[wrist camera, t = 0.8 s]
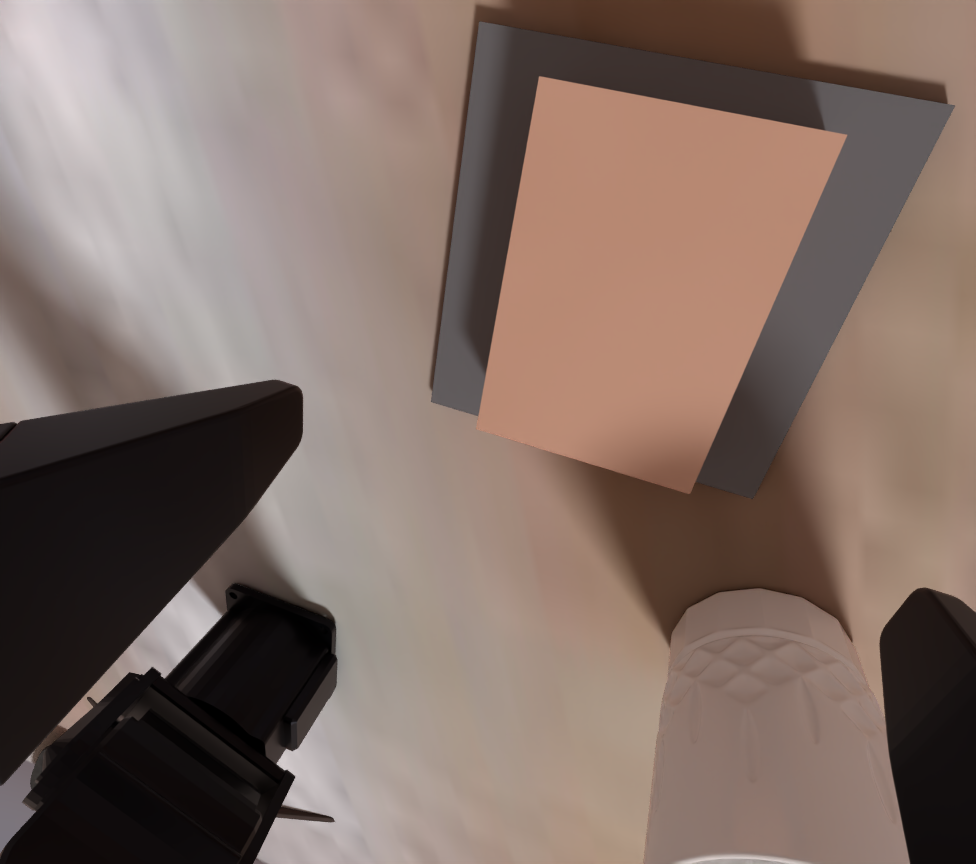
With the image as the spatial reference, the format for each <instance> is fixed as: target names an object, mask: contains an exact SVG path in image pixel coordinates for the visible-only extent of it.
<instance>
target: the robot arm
mask: <svg viewBox="0 0 976 864" xmlns="http://www.w3.org/2000/svg"><path fill="white" fill-rule="evenodd" d="M302 434H303V394H302V391H301V389H300V388H299V387H298V386H295V385H292V384H289V383H286V382H283V381H280V380H269V381H262V382H256V383H250V384H244V385H238V386H232V387H226V388H219V389H213V390H207V391H201V392H195V393H189V394H183V395H176V396H170V397H164V398H158V399H152V400H146V401H140V402H134V403H127V404H121V405H115V406H109V407H103V408H97V409H91V410H84V411H78V412H72V413H66V414H60V415H54V416H48V417H41V418H35V419H29V420H23V421H20V422H19V423H18V424H17V423H15V422H10V423H4V424H0V786H1V785H3V784H4V783H5V782H6V781H7V780H8V779H9V778H10V777H11V775H12V774H13V773H14V772H15V771H16V770H17V769H18V767H20V766H21V764H22V763H23V762H24V761H25V760H26V759H27V758H28V757H29V756H30V755H31V753H32V752H33V751H34V750H35V749H36V748H37V747H38V746H39V745H40V744H41V743H42V741H43V740H44V739H45V738H46V737H47V736H48V735H49V734H50V733H51V732H52V730H53V729H54V728H55V727H56V726H57V725H58V724H59V723H60V722H61V721H62V719H63V718H64V717H65V716H66V715H67V714H68V713H69V712H70V711H71V710H72V708H73V707H74V706H75V705H76V704H77V703H78V702H79V701H80V700H81V699H82V697H83V696H84V695H85V694H86V693H87V692H88V691H89V690H90V689H91V688H92V686H93V685H94V684H95V683H96V682H97V681H98V680H99V679H100V678H101V677H102V675H103V674H104V673H105V672H106V671H107V670H108V669H109V668H110V667H111V666H112V665H113V663H114V662H115V661H116V660H117V659H118V658H119V657H120V656H121V655H122V654H123V652H124V651H125V650H126V649H127V648H128V647H129V646H130V645H131V644H132V643H133V641H134V640H135V639H136V638H137V637H138V636H139V635H140V634H141V633H142V632H143V630H144V629H145V628H146V627H147V626H148V625H149V624H150V623H151V622H152V621H153V619H154V618H155V617H156V616H157V615H158V614H159V613H160V612H161V611H162V610H163V608H164V607H165V606H166V605H167V604H168V603H169V602H170V601H171V600H172V599H173V597H174V596H175V595H176V594H177V593H178V592H179V591H180V590H181V589H182V588H183V587H184V585H185V584H186V583H187V582H188V581H189V580H190V579H191V578H192V577H193V576H194V574H195V573H196V572H197V571H198V570H199V569H200V568H201V567H202V566H203V565H204V563H205V562H206V561H207V560H208V559H209V558H210V557H211V556H212V555H213V554H214V552H215V551H216V550H217V549H218V548H219V547H220V546H221V545H222V544H223V543H224V541H225V540H226V539H227V538H228V537H229V536H230V535H231V534H232V533H233V532H234V530H235V529H236V528H237V527H238V526H239V525H240V524H241V522H242V521H243V520H244V519H245V518H246V517H247V515H248V514H249V513H250V512H251V510H252V509H253V508H254V506H255V505H256V504H257V502H258V501H259V500H260V498H261V497H262V495H263V494H264V493H265V491H266V490H267V489H268V487H269V486H270V484H271V483H272V482H273V480H274V479H275V478H276V476H277V475H278V473H279V472H280V471H281V469H282V468H283V467H284V465H285V464H286V462H287V461H288V460H289V458H290V457H291V456H292V454H293V453H294V451H295V450H296V449H297V447H298V445H299V443H300V441H301V438H302ZM225 593H226V602H227V612H226V613H225V614H224V615H223V616H222V617H221V618H220V620H219V621H218V622H217V623H216V624H215V625H214V626H213V627H212V628H211V629H210V630H209V631H208V632H207V634H206V635H205V636H204V637H203V638H202V639H201V640H200V641H199V642H198V643H197V644H196V645H195V646H194V648H193V649H192V650H191V651H190V652H189V653H188V654H187V655H186V656H185V657H184V658H183V659H182V660H181V662H180V663H179V664H178V665H177V666H176V667H175V668H174V669H173V670H172V671H171V672H170V673H169V674H168V676H167V677H166V678H165V679H164V678H163V677H161V676H160V675H161V673H160V672H159V671H157V670H156V669H155V668H153V667H152V668H151V669H150V670H149V671H148V672H147V673H146V674H145V675H142V674H141V675H139V674H135V673H130V672H129V673H128V674H127V675H126V676H125V677H124V678H123V679H122V680H121V681H120V682H119V683H118V684H117V685H116V686H115V687H114V688H113V689H112V690H111V691H110V692H109V693H108V694H107V695H106V696H105V697H104V698H103V699H102V700H101V701H100V702H99V703H98V704H97V705H96V706H94V707H93V708H92V709H91V710H90V711H89V712H88V713H87V714H85V715H84V716H83V717H82V718H81V719H80V720H79V721H77V722H76V723H75V724H74V725H73V726H72V727H71V728H69V729H68V730H67V731H66V732H65V733H64V734H63V735H61V736H60V737H59V738H58V739H57V740H56V741H55V742H54V743H53V744H52V745H51V746H50V747H49V748H48V749H47V750H46V751H45V752H44V756H43V768H42V773H41V774H40V775H39V776H38V778H37V779H36V780H35V782H36V783H37V785H36V786H35V787H34V788H33V789H32V790H31V791H30V793H29V794H28V795H27V796H26V798H25V799H24V800H23V803H24V804H25V805H26V806H28V807H29V808H30V809H32V810H35V811H36V812H35V813H34V814H33V816H32V817H31V818H30V819H29V820H28V821H27V822H26V823H25V824H24V825H23V826H22V827H21V829H20V830H19V831H18V832H17V833H16V834H15V835H14V836H13V837H12V838H11V840H10V841H9V842H8V843H7V845H6V846H5V847H4V849H3V850H2V852H1V853H0V864H253V863H254V861H255V859H256V857H257V855H258V853H259V851H260V849H261V847H262V845H263V843H264V840H265V838H266V836H267V834H268V832H269V830H270V828H271V826H272V824H273V822H274V820H275V818H276V816H277V814H278V812H279V810H280V808H281V806H282V803H283V801H284V799H285V797H286V795H287V793H288V791H289V789H290V787H291V785H292V783H293V781H294V779H295V775H293V774H292V773H291V772H289V771H288V770H285V771H284V770H283V769H282V768H280V767H279V766H278V765H277V762H278V760H279V759H280V757H281V756H282V754H283V753H284V751H285V749H288V750H291V751H293V750H295V749H297V748H298V747H299V746H300V744H301V743H302V741H303V739H304V738H305V736H306V735H307V733H308V731H309V730H310V728H311V726H312V725H313V723H314V722H315V720H316V718H317V717H318V715H319V714H320V712H321V710H322V709H323V707H324V705H325V704H326V702H327V701H328V699H329V698H330V697H331V695H332V694H333V692H334V689H335V688H336V684H337V657H336V655H335V643H336V626H335V624H334V623H333V622H332V621H331V620H329V619H327V618H324V617H322V616H319V615H316V614H314V613H311V612H309V611H306V610H303V609H301V608H298V607H296V606H293V605H290V604H288V603H285V602H283V601H280V600H277V599H275V598H272V597H270V596H267V595H264V594H262V593H259V592H257V591H254V590H251V589H249V588H246V587H244V586H241V585H238V584H232V585H231V586H230V587H229V588H228V589H227V590H226V592H225ZM880 658H881V671H882V684H883V696H884V709H885V722H886V734H887V743H888V752H889V758H890V764H891V770H892V776H893V781H894V786H895V791H896V796H897V801H898V806H899V811H900V816H901V821H902V826H903V831H904V836H905V841H906V846H907V852H908V857H909V862H910V864H976V612H974V611H973V610H972V609H971V608H970V607H968V606H967V605H966V604H965V603H964V602H962V601H961V600H960V599H958V598H956V597H954V596H951V595H948V594H945V593H942V592H939V591H936V590H932V589H929V588H919V589H917V590H915V591H913V592H912V593H911V594H910V595H909V597H908V598H907V599H906V600H905V602H904V603H903V604H902V605H901V607H900V608H899V609H898V610H897V612H896V613H895V614H894V615H893V617H892V618H891V619H890V620H889V622H888V623H887V624H886V625H885V627H884V629H883V631H882V633H881V637H880Z"/></svg>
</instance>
